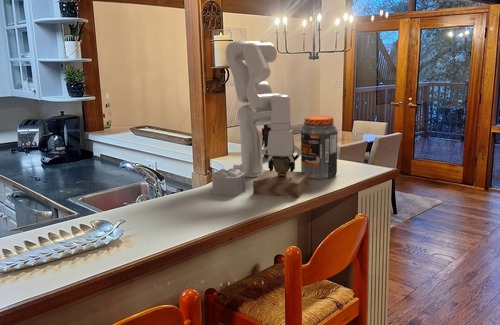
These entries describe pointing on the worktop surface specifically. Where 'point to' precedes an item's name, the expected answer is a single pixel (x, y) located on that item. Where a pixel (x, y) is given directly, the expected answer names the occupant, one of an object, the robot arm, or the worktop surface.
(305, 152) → the supplement tub
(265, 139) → the wine bottle
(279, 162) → the cup
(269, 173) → the walnut block
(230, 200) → the worktop surface
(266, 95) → the robot arm
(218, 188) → the grey studded block
